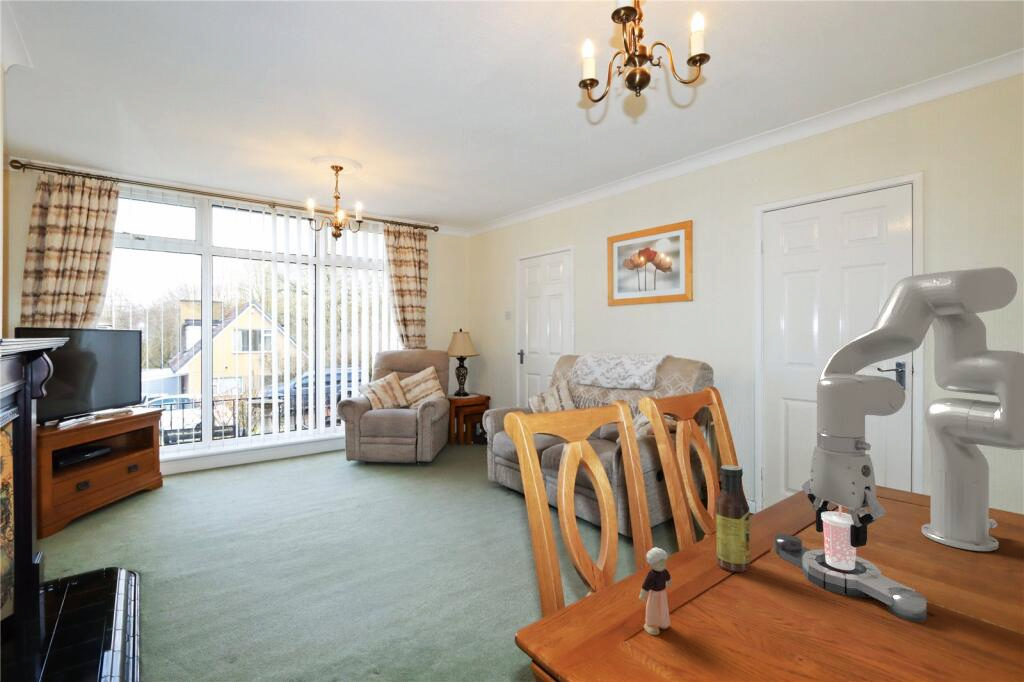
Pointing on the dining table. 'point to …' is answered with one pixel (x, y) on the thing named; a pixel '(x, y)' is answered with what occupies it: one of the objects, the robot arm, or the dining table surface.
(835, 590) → the dark grey ring piece
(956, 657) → the dining table surface
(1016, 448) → the robot arm
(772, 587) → the dining table surface
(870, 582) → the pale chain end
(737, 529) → the sauce bottle
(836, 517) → the beverage cup
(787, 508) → the dining table surface
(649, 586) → the grandmother figurine
